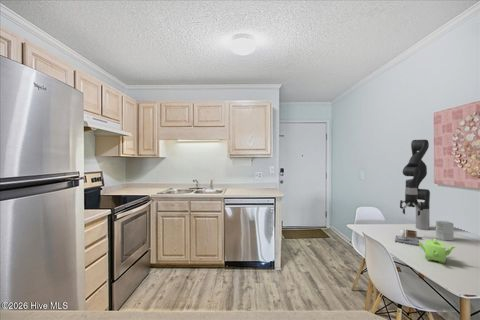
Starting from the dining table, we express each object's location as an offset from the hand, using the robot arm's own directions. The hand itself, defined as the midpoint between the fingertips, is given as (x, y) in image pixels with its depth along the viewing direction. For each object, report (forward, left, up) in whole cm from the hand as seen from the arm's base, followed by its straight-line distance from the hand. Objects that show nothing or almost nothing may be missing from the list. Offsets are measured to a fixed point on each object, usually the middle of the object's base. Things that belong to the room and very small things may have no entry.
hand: (411, 214), depth 178 cm
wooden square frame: (0, 0, -17) cm, 17 cm away
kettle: (+38, +12, -17) cm, 44 cm away
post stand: (+12, -3, -17) cm, 21 cm away
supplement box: (-9, +20, -17) cm, 28 cm away
